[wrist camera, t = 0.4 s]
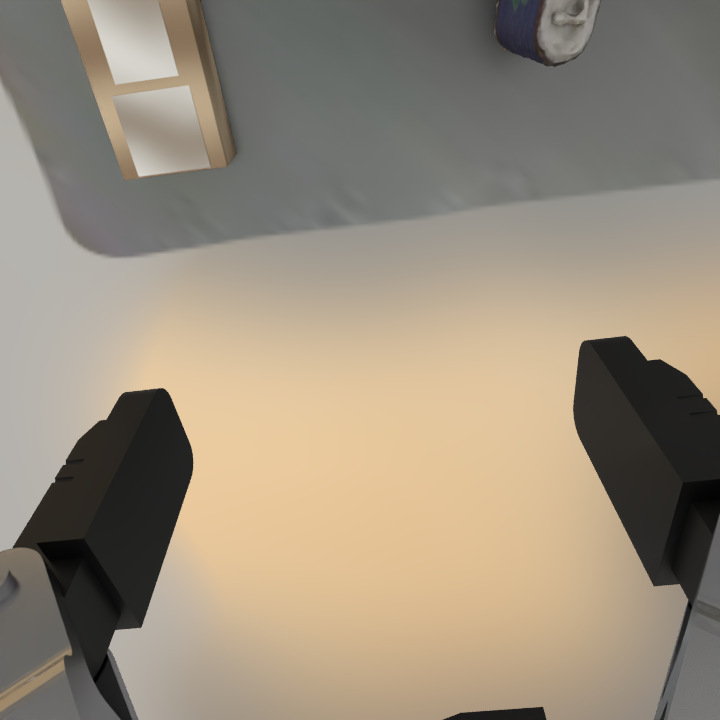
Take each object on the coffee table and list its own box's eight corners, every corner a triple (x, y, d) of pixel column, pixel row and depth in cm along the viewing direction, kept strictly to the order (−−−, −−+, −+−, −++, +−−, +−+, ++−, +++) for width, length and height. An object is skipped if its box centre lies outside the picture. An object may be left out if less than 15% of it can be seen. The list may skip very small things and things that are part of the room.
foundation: (42, -132, 26) (8, -146, 24) (163, -152, 26) (142, -170, 23) (141, 166, 34) (123, 180, 31) (236, 154, 34) (226, 167, 31)
